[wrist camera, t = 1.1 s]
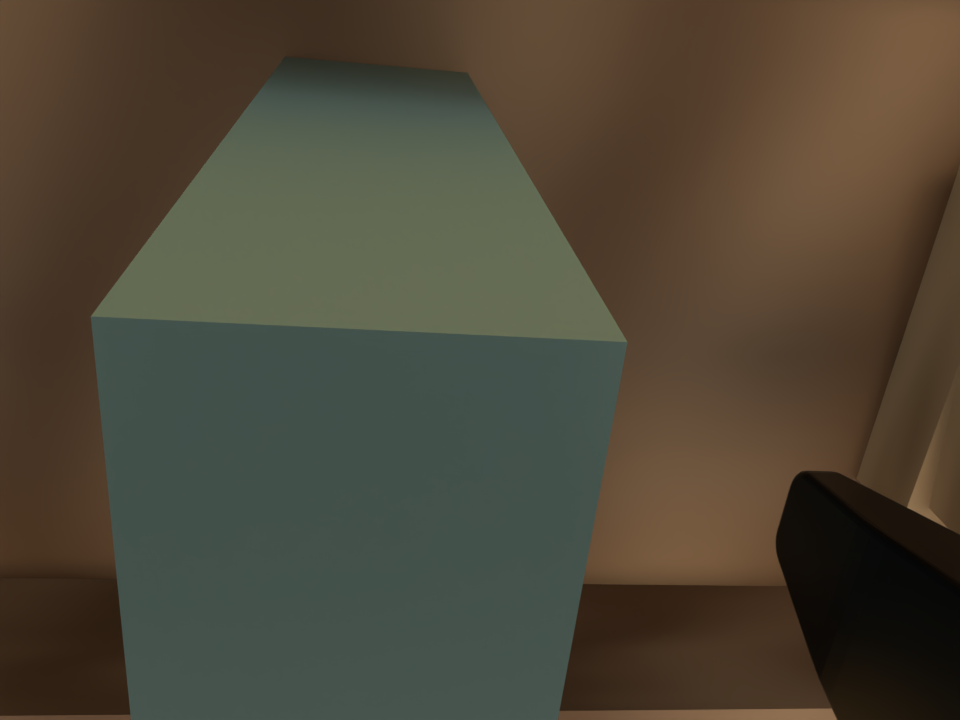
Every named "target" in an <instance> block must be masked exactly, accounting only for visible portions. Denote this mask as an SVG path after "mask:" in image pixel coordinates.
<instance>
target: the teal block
mask: <svg viewBox="0 0 960 720" xmlns="http://www.w3.org/2000/svg"><path fill="white" fill-rule="evenodd" d="M91 324H92V334H93V344H94V354H95V364H96V374H97V384H98V394H99V404H100V414H101V424H102V434H103V444H104V454H105V464H106V474H107V484H108V494H109V504H110V514H111V524H112V534H113V545H114V555H115V565H116V575H117V585H118V595H119V605H120V615H121V625H122V635H123V645H124V655H125V665H126V675H127V685H128V695H129V705H130V715H131V720H558V716H559V710H560V705H561V700H562V694H563V689H564V683H565V678H566V673H567V667H568V662H569V656H570V651H571V645H572V640H573V635H574V629H575V624H576V618H577V613H578V608H579V602H580V597H581V591H582V586H583V580H584V575H585V570H586V564H587V559H588V553H589V548H590V543H591V537H592V532H593V526H594V521H595V515H596V510H597V505H598V499H599V494H600V488H601V483H602V478H603V472H604V467H605V461H606V456H607V451H608V445H609V440H610V434H611V429H612V423H613V418H614V413H615V407H616V402H617V396H618V391H619V386H620V380H621V375H622V369H623V364H624V358H625V353H626V348H627V340H626V339H625V337H624V335H623V334H622V332H621V330H620V329H619V327H618V325H617V323H616V322H615V320H614V318H613V317H612V315H611V313H610V312H609V310H608V308H607V307H606V305H605V303H604V302H603V300H602V298H601V297H600V295H599V293H598V292H597V290H596V288H595V286H594V285H593V283H592V281H591V280H590V278H589V276H588V275H587V273H586V271H585V270H584V268H583V266H582V265H581V263H580V261H579V260H578V258H577V256H576V255H575V253H574V251H573V249H572V248H571V246H570V244H569V243H568V241H567V239H566V238H565V236H564V234H563V233H562V231H561V229H560V228H559V226H558V224H557V223H556V221H555V219H554V217H553V216H552V214H551V212H550V211H549V209H548V207H547V206H546V204H545V202H544V201H543V199H542V197H541V196H540V194H539V192H538V191H537V189H536V187H535V186H534V184H533V182H532V180H531V179H530V177H529V175H528V174H527V172H526V170H525V169H524V167H523V165H522V164H521V162H520V160H519V159H518V157H517V155H516V154H515V152H514V150H513V149H512V147H511V145H510V143H509V142H508V140H507V138H506V137H505V135H504V133H503V132H502V130H501V128H500V127H499V125H498V123H497V122H496V120H495V118H494V117H493V115H492V113H491V111H490V110H489V108H488V106H487V105H486V103H485V101H484V100H483V98H482V96H481V95H480V93H479V91H478V90H477V88H476V86H475V85H474V83H473V81H472V80H471V78H470V76H469V74H468V73H466V72H454V71H443V70H431V69H420V68H408V67H397V66H385V65H374V64H362V63H351V62H339V61H328V60H316V59H305V58H293V57H284V59H283V60H282V61H281V63H280V64H279V65H278V67H277V68H276V70H275V71H274V72H273V74H272V75H271V76H270V78H269V79H268V80H267V82H266V83H265V84H264V86H263V87H262V88H261V90H260V91H259V92H258V94H257V95H256V96H255V98H254V99H253V100H252V102H251V103H250V104H249V106H248V107H247V108H246V110H245V111H244V112H243V114H242V115H241V116H240V118H239V119H238V120H237V122H236V123H235V124H234V126H233V127H232V128H231V130H230V131H229V132H228V134H227V135H226V136H225V138H224V139H223V140H222V142H221V143H220V144H219V146H218V147H217V148H216V150H215V151H214V152H213V154H212V155H211V156H210V158H209V159H208V160H207V162H206V163H205V164H204V166H203V167H202V168H201V170H200V171H199V172H198V174H197V175H196V176H195V178H194V179H193V180H192V182H191V183H190V184H189V186H188V187H187V188H186V190H185V191H184V192H183V194H182V195H181V196H180V198H179V199H178V200H177V202H176V203H175V204H174V206H173V207H172V209H171V210H170V211H169V213H168V214H167V215H166V217H165V218H164V219H163V221H162V222H161V223H160V225H159V226H158V227H157V229H156V230H155V231H154V233H153V234H152V235H151V237H150V238H149V239H148V241H147V242H146V243H145V245H144V246H143V247H142V249H141V250H140V251H139V253H138V254H137V255H136V257H135V258H134V259H133V261H132V262H131V263H130V265H129V266H128V267H127V269H126V270H125V271H124V273H123V274H122V275H121V277H120V278H119V279H118V281H117V282H116V283H115V285H114V286H113V287H112V289H111V290H110V291H109V293H108V294H107V295H106V297H105V298H104V299H103V301H102V302H101V303H100V305H99V306H98V307H97V309H96V310H95V311H94V313H93V314H92V315H91Z"/></svg>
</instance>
